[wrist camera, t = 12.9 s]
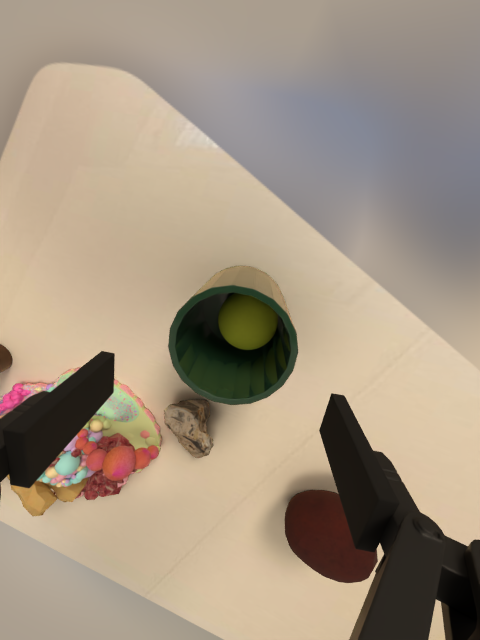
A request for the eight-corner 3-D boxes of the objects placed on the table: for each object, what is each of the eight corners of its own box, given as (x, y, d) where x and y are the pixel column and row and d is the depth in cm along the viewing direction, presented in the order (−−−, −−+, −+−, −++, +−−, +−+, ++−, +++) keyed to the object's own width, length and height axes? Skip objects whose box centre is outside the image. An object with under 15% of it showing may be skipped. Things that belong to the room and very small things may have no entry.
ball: (218, 280, 32) (228, 296, 26) (272, 287, 34) (293, 303, 28) (211, 333, 34) (218, 359, 28) (261, 337, 36) (279, 362, 30)
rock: (245, 442, 40) (220, 427, 32) (209, 480, 38) (173, 475, 31) (211, 400, 45) (183, 379, 37) (179, 432, 44) (141, 418, 36)
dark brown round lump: (299, 458, 42) (311, 528, 32) (374, 488, 43) (409, 565, 33) (268, 505, 45) (271, 581, 35) (339, 532, 46) (360, 614, 36)
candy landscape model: (101, 511, 48) (66, 572, 40) (-18, 436, 45) (-86, 486, 36) (183, 426, 41) (163, 479, 33) (50, 330, 38) (-13, 360, 29)
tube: (206, 258, 33) (174, 274, 21) (292, 274, 33) (312, 299, 21) (195, 338, 37) (163, 392, 24) (274, 353, 37) (281, 414, 24)
